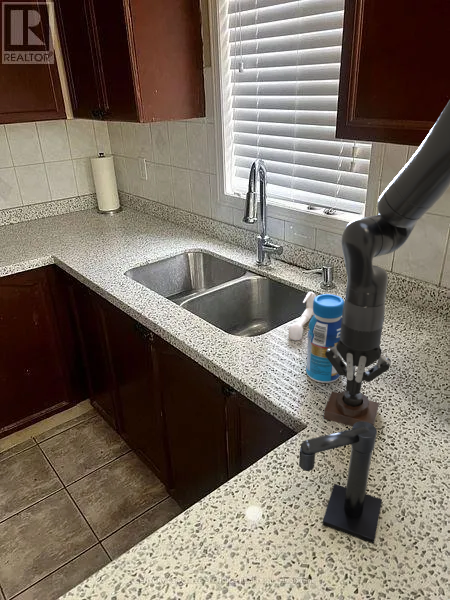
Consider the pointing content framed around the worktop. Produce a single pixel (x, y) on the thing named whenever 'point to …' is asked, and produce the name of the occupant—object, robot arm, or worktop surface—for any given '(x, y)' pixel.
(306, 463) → the spout
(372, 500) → the tap body
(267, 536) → the worktop surface
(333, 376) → the beverage bottle
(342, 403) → the brown button base
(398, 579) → the worktop surface
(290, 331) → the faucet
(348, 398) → the pump button
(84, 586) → the worktop surface
